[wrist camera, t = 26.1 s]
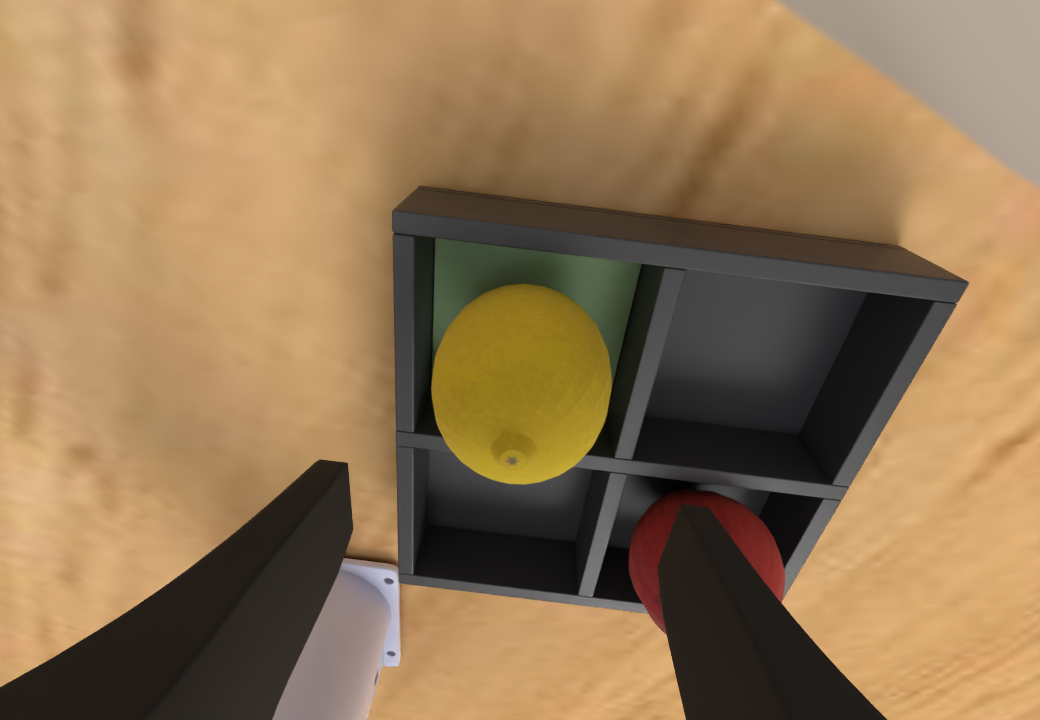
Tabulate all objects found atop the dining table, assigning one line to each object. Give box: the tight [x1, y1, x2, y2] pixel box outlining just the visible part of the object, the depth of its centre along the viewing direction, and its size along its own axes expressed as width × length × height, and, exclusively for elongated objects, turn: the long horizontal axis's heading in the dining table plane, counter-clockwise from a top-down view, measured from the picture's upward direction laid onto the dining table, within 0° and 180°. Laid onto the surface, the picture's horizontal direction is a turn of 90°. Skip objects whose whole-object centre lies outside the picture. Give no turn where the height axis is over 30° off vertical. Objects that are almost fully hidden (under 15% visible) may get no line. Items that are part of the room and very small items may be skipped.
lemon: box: [431, 283, 612, 484], centre depth 16 cm, size 6×6×8 cm
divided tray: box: [392, 186, 969, 614], centre depth 21 cm, size 17×17×4 cm
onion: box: [629, 489, 785, 634], centre depth 20 cm, size 6×6×8 cm
